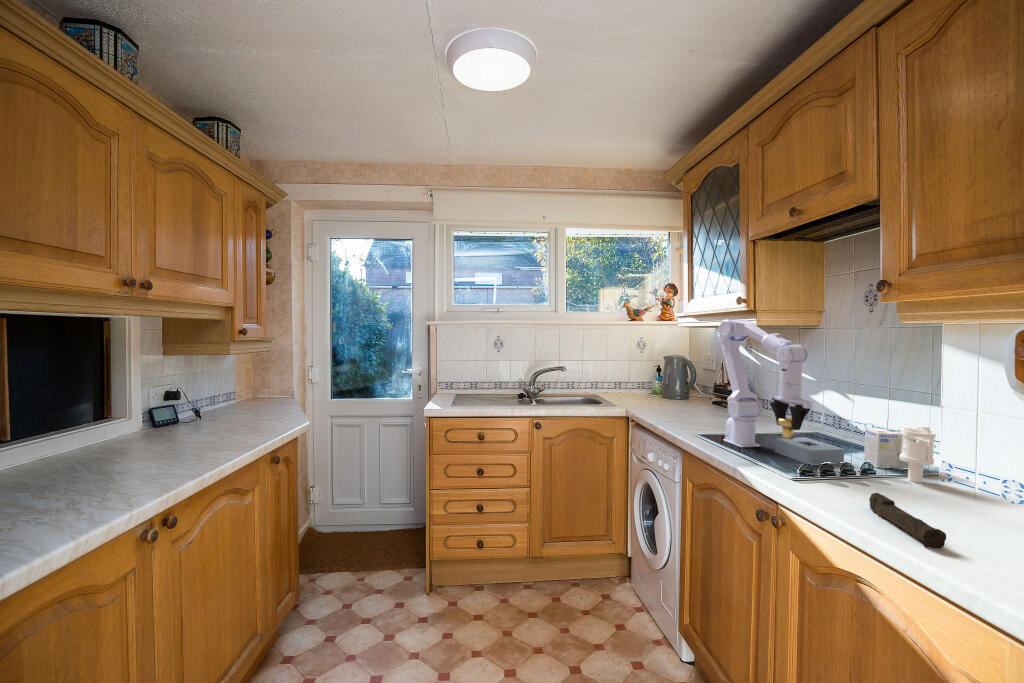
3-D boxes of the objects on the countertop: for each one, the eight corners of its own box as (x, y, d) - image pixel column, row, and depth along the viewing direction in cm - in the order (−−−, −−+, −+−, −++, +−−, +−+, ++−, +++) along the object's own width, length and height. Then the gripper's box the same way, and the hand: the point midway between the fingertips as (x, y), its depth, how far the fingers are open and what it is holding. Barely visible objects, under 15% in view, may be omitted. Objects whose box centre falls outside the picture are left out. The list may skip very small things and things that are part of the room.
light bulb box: (899, 463, 141) (901, 428, 141) (916, 470, 135) (918, 434, 134) (862, 461, 142) (864, 427, 142) (877, 468, 136) (879, 432, 135)
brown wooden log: (947, 551, 87) (948, 527, 87) (923, 549, 88) (925, 525, 88) (883, 510, 106) (884, 491, 106) (864, 509, 106) (865, 489, 106)
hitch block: (774, 452, 151) (775, 438, 151) (805, 450, 154) (806, 437, 153) (810, 465, 138) (811, 450, 137) (843, 463, 140) (844, 449, 140)
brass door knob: (773, 436, 144) (773, 417, 144) (788, 435, 145) (789, 417, 145) (786, 440, 139) (787, 421, 138) (802, 440, 140) (803, 420, 140)
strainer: (939, 484, 123) (942, 429, 122) (920, 486, 121) (923, 430, 120) (909, 475, 130) (913, 423, 129) (891, 477, 128) (894, 424, 127)
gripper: (761, 380, 148) (760, 422, 148) (798, 387, 133) (795, 433, 134) (781, 380, 149) (779, 421, 150) (818, 386, 135) (816, 432, 135)
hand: (788, 427), depth 142 cm, fingers closed on brass door knob, 6 cm apart
